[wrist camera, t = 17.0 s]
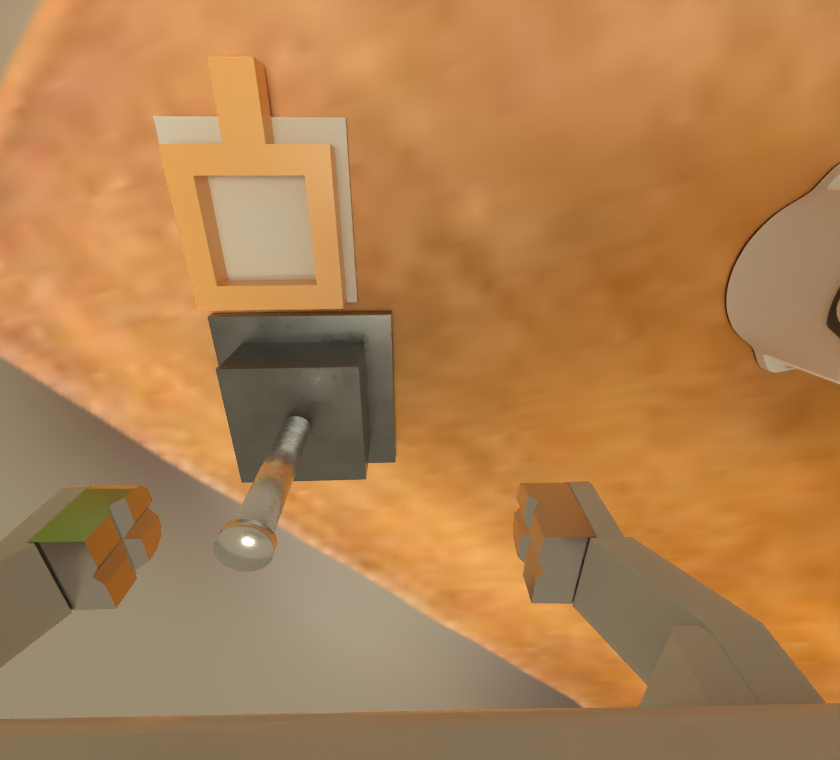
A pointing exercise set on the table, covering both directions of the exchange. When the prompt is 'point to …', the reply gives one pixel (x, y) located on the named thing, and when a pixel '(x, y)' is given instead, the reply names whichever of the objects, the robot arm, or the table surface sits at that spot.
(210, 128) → the mat
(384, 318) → the stand
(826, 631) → the table surface
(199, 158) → the orange handled frame
